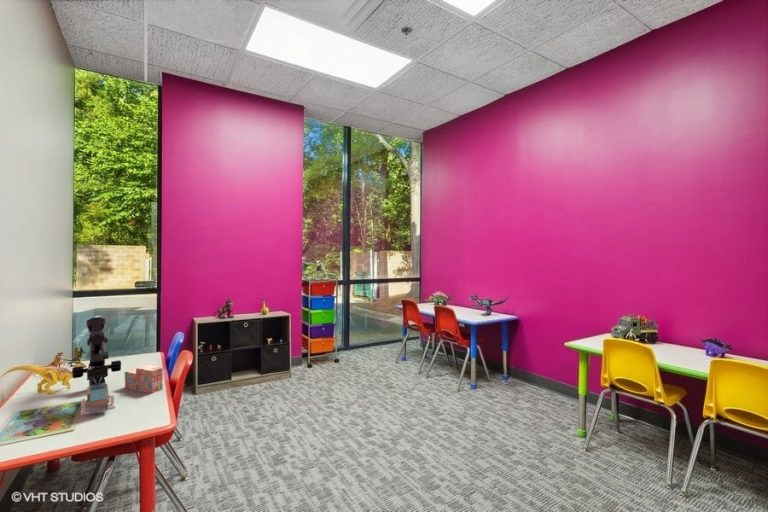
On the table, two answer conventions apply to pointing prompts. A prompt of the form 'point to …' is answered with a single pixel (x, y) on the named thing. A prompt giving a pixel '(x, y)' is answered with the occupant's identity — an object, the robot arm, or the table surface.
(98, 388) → the grey rectangular block
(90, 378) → the robot arm
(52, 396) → the table surface
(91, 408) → the beam
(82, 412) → the pivot stand
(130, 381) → the stack of blocks
